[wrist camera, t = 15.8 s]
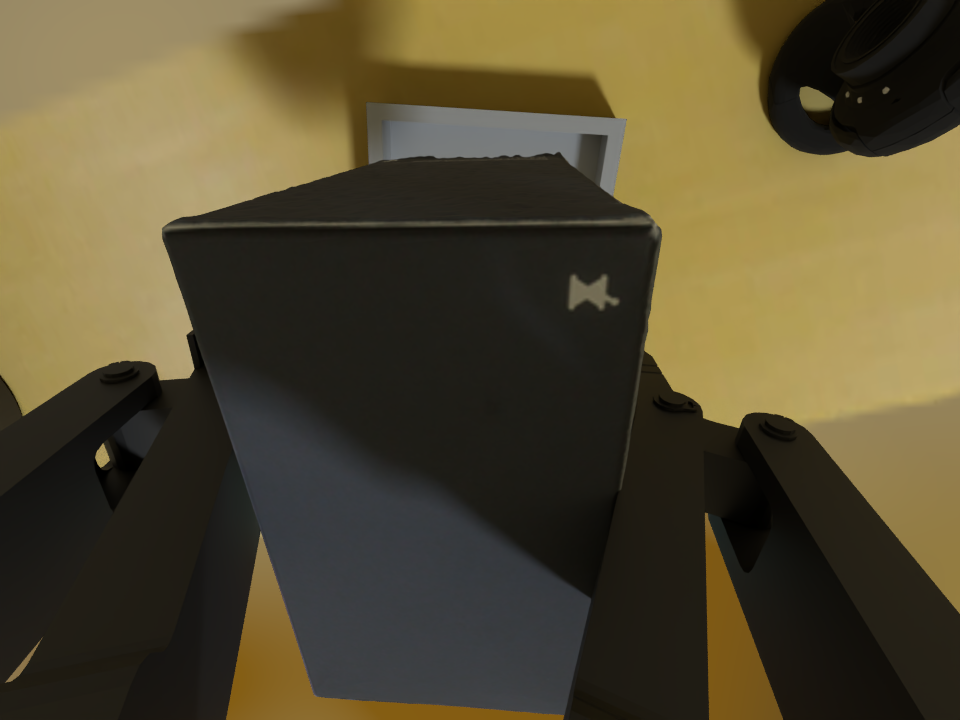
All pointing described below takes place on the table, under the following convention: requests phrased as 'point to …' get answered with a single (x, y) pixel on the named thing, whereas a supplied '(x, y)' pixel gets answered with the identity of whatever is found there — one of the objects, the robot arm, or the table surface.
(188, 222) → the small box
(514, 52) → the table surface
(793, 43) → the webcam
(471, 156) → the tray
